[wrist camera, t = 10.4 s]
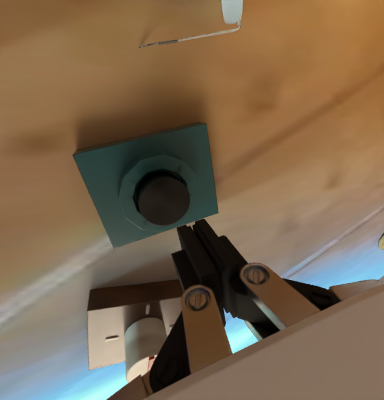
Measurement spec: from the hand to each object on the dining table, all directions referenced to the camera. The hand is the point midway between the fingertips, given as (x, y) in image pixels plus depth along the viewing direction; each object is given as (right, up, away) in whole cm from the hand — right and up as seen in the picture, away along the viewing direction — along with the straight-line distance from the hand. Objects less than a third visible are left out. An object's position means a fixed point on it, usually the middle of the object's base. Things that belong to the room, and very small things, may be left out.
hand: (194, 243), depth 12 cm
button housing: (-4, +4, +10) cm, 12 cm away
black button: (-3, +3, +7) cm, 8 cm away
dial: (-6, -14, +14) cm, 21 cm away
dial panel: (-7, -13, +17) cm, 22 cm away
